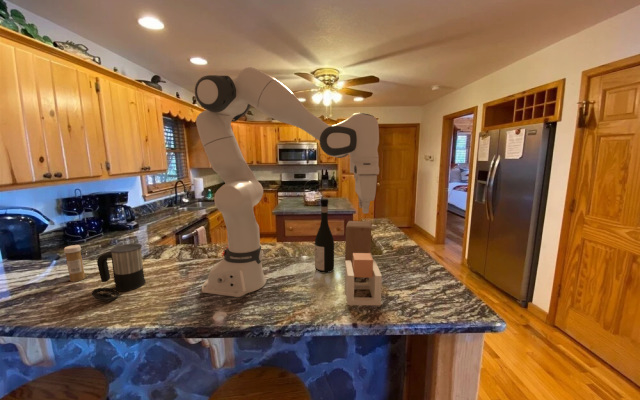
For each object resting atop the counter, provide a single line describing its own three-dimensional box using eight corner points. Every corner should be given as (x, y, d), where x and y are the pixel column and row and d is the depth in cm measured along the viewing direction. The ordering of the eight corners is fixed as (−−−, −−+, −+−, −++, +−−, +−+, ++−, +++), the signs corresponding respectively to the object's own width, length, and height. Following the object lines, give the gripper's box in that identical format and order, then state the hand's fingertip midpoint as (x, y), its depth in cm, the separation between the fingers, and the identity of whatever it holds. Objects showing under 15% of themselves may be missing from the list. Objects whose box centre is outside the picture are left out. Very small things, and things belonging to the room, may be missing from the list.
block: (354, 277, 85) (354, 259, 84) (352, 269, 90) (352, 253, 90) (372, 277, 84) (373, 260, 83) (369, 269, 90) (370, 253, 89)
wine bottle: (319, 275, 104) (319, 201, 99) (312, 267, 111) (311, 198, 106) (337, 271, 107) (337, 200, 102) (329, 264, 114) (329, 197, 109)
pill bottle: (87, 276, 104) (82, 243, 102) (82, 281, 100) (76, 247, 98) (73, 277, 102) (67, 245, 100) (67, 283, 98) (61, 249, 96)
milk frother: (147, 277, 103) (142, 241, 100) (143, 296, 89) (138, 254, 86) (101, 286, 96) (95, 248, 93) (89, 307, 82) (82, 263, 80)
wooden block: (369, 276, 103) (371, 227, 99) (344, 274, 105) (345, 226, 101) (370, 266, 112) (371, 221, 109) (347, 264, 114) (347, 220, 111)
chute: (347, 304, 83) (347, 275, 81) (345, 286, 95) (345, 260, 93) (380, 305, 83) (381, 276, 81) (374, 286, 95) (375, 260, 93)
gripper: (351, 166, 92) (351, 204, 94) (357, 168, 72) (357, 217, 74) (369, 165, 92) (368, 204, 94) (380, 168, 72) (379, 217, 74)
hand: (363, 210), depth 84 cm, fingers open, 7 cm apart
